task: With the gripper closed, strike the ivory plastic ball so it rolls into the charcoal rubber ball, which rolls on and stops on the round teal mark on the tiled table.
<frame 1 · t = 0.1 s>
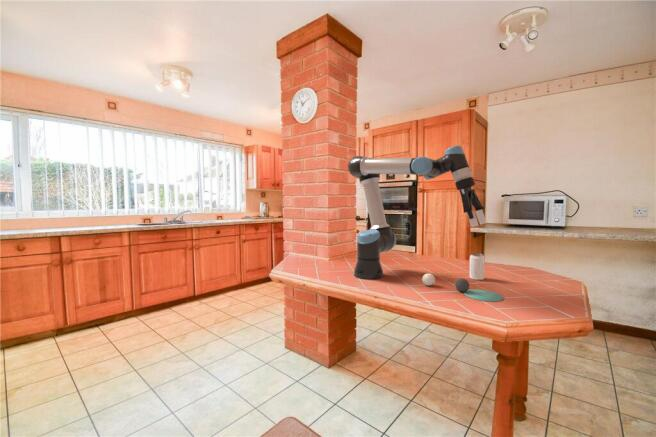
hand: (479, 225, 118), 28 cm above the table, tool tilted 20°, fingers open, 13 cm apart
object ball: (462, 285, 115), on the table
can: (476, 278, 134), on the table
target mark: (483, 295, 111), on the table
cue ball: (428, 279, 124), on the table
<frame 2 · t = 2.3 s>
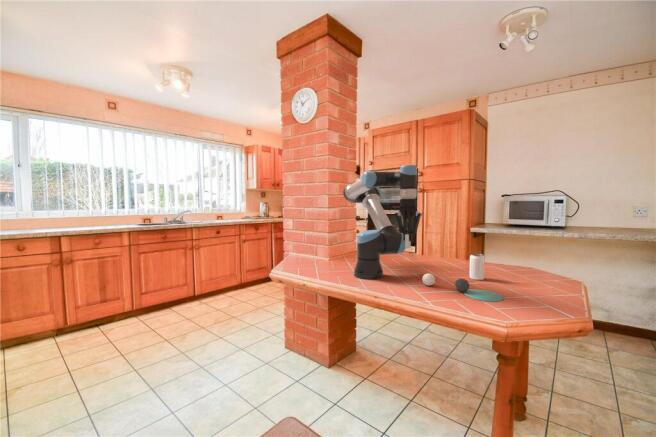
hand: (407, 247, 130), 16 cm above the table, tool pointing down, fingers closed
nothing on the table moved.
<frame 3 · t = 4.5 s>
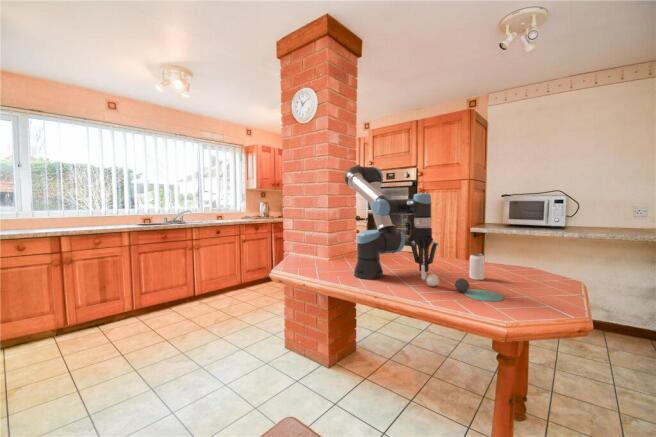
hand: (424, 278, 125), 3 cm above the table, tool pointing down, fingers closed
cue ball: (432, 280, 123), on the table, touching gripper
everything else where it was.
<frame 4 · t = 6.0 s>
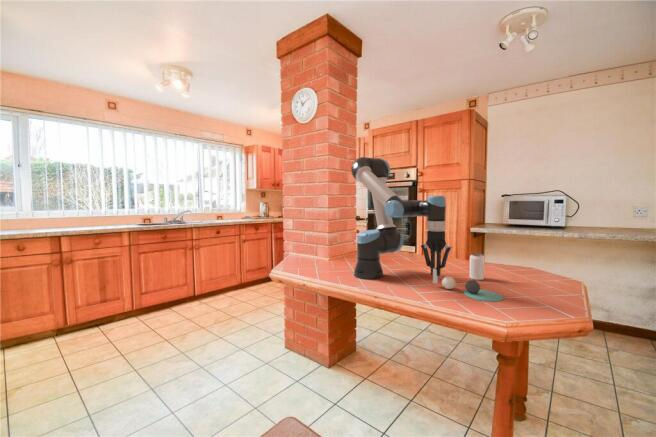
hand: (435, 282, 122), 2 cm above the table, tool pointing down, fingers closed
object ball: (472, 286, 113), on the table
cue ball: (448, 282, 119), on the table
everything else where it was.
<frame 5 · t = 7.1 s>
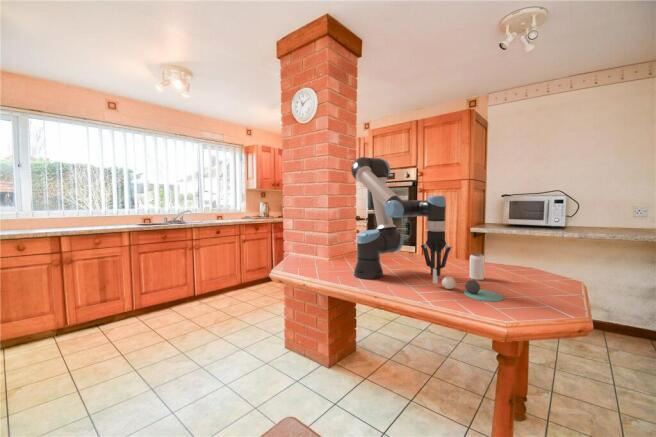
hand: (435, 282, 122), 2 cm above the table, tool pointing down, fingers closed
nothing on the table moved.
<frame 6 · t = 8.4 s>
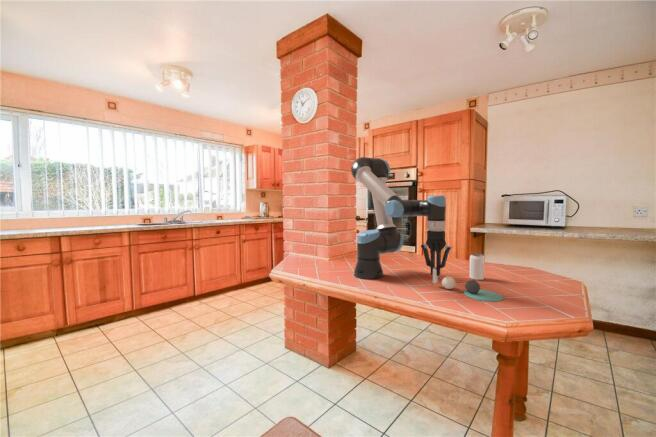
hand: (435, 282, 123), 2 cm above the table, tool pointing down, fingers closed
nothing on the table moved.
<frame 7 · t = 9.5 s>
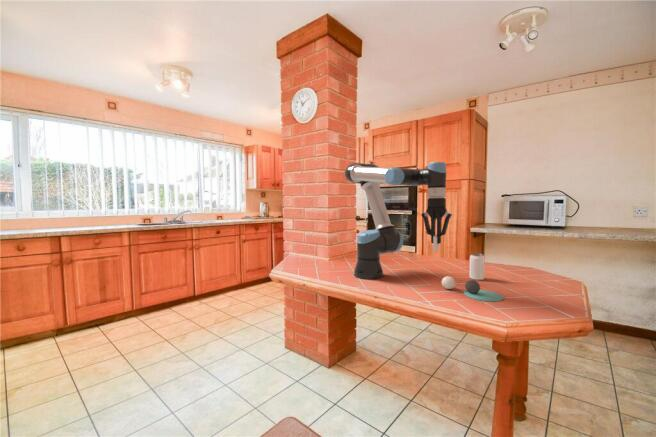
hand: (435, 250, 122), 16 cm above the table, tool pointing down, fingers closed
nothing on the table moved.
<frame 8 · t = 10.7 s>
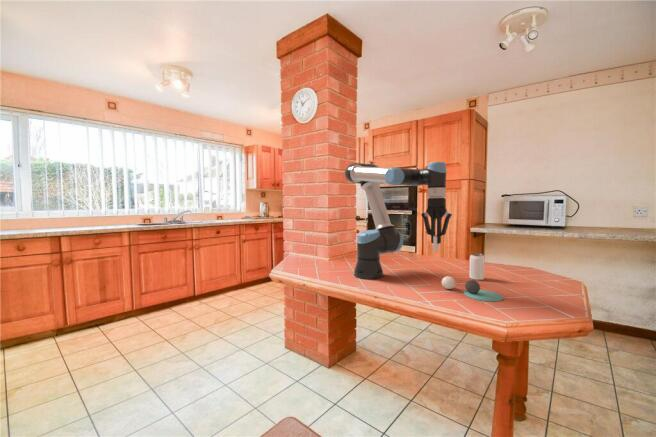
hand: (435, 250, 122), 16 cm above the table, tool pointing down, fingers closed
nothing on the table moved.
at the end: object ball 3.9 cm from the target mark (horizontally); object ball never touched the robot; cue ball first touched object ball at 4.9 s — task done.
